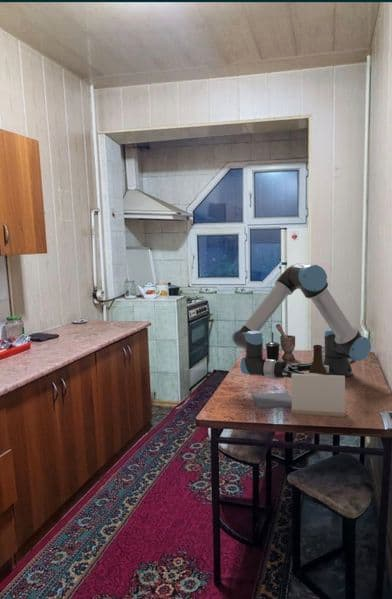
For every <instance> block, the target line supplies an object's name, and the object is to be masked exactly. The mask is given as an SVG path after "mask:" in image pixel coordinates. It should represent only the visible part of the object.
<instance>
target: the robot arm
mask: <svg viewBox="0 0 392 599" xmlns="http://www.w3.org/2000/svg"><path fill="white" fill-rule="evenodd" d="M327 279H328V276H327V273H326V270H325V269H324V268H323V267H322V266H321V265H318V264H313V263H295V264H292V265H290V266H288V267H287V268H286V269H285V270H284V271H283V272H282V273H281V274H280V275H279V277H278V278H277V279H275V280H276V281H275V282H274V286H273V288H272V289H271V290H270V291H269V292H268V294H267V295H266V297H264V299H263V300H262V302H261V303H260V304H259V305H258V306H257V308H256V309H255V310H254V311H253V313H252V314H251V315H250V316H249V318H248V320H246V322H245V323H244V324H243V326H242V327H241V328H240V329H237V330H235V331H234V332H233V333H232V335H231V341H232V343H233V344H235V345H236V346H237V347H239V348H242V349H243V350H245V356H244V357H242V358H241V359H240V365H239V366H240V367H239V368H240V371H241V373H242V374H245V375H250V376H259V377H261V376H262V377H268V378H279V379H280V378H281V379H285V378H289V379H291V375H292V374H315V375H322V374H316V373H309V370H310V368H311V366H312V364H313V361H311V362H304V363H303V362H302V363H301V362H299V363H298V362H297V363H294V362H293V363H292V362H290V364H287V361H285V360H284V359H282V360H280V359H278V360H277V361H276V360H272V359H267V358H263V354H264V353H263V350H264V349H263V348H264V347H263V346H264V343H263V342H264V340H263V333H262V332H261V330H262V328H263V327H264V326H265V324H266V323H267V322H268V321H269V320H270V318H271V317H272V316H273V315H274V313H275V312H276V311H277V309H278V308H279V307H281V306H280V305H281V304H283V303H284V301H285V300H286V298H287V297H288V296H291V295H292V294H293V293H294V292H295V291H296V290H298V289H299V290H300V291H301V292H302V294H303V296H304V297H305V298H306V299H310V300H311V301H312V303H313V304H314V306H315V308H317V311H318V312H319V313H320V314H321V316H322V318H323V319H324V320H325V323H326V324H327V325H328V327H329V328H328V329H326V330H325V331H324V336H323V337H324V347H325V358H324V361H323V365H324V367H325V368H326V371H327V375H341V376H345V378H347V377H350V376H352V375H353V368H352V364H351V361H350V362H349V358H350V359H352V361H356V362H360V361H364V360H365V359H366V358H368V356H369V355H370V354H371V350H372V343H371V341H370V339H368V338H367V337H366V336H362V334H361V333H360V330H358V328H357V327H356V326H352V324H351V323H350V322H349V320H348V318H347V317H346V315H345V314H344V313H343V311H342V310H341V308H340V306H339V305H338V303H337V302H336V300H335V298H334V297H333V295H332V294H331V293H330V291H329V290H328V288H329V283H328V280H327ZM307 371H308V372H307Z"/></svg>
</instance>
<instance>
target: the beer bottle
mask: <svg viewBox="0 0 392 599" xmlns="http://www.w3.org/2000/svg"><path fill="white" fill-rule="evenodd" d="M312 347H313V348H312V349H314V354H313V353H312V354H313V358H312V362H313V364H312V366H311V368H310V370H309V371H308V373H316V374H322V375H327V371H326V368H325V367H324V365H323V362H322V347H323V346H322V345H321V344H314V345H313V346H312Z"/></svg>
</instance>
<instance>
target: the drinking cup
mask: <svg viewBox="0 0 392 599" xmlns="http://www.w3.org/2000/svg"><path fill="white" fill-rule="evenodd" d="M280 347H281V343H278V342H275V341H274V332H272V333H271V341H270V342H268V343H265V348H266V349H265V350H266V359H272V360H276V361H277V360H279V356H280Z"/></svg>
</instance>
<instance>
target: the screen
mask: <svg viewBox="0 0 392 599" xmlns="http://www.w3.org/2000/svg"><path fill="white" fill-rule="evenodd" d="M290 379H291V397H292V407H291V414H292V415H304V416H306V415H308V416H309V415H310V416H321V417H322V416H323V417H324V416H325V417H326V416H327V417H338V418H340V417H341V418H345V417H346V377H345V376H341V375H315V374H306V373H305V374H292V375H291V378H290Z"/></svg>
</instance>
